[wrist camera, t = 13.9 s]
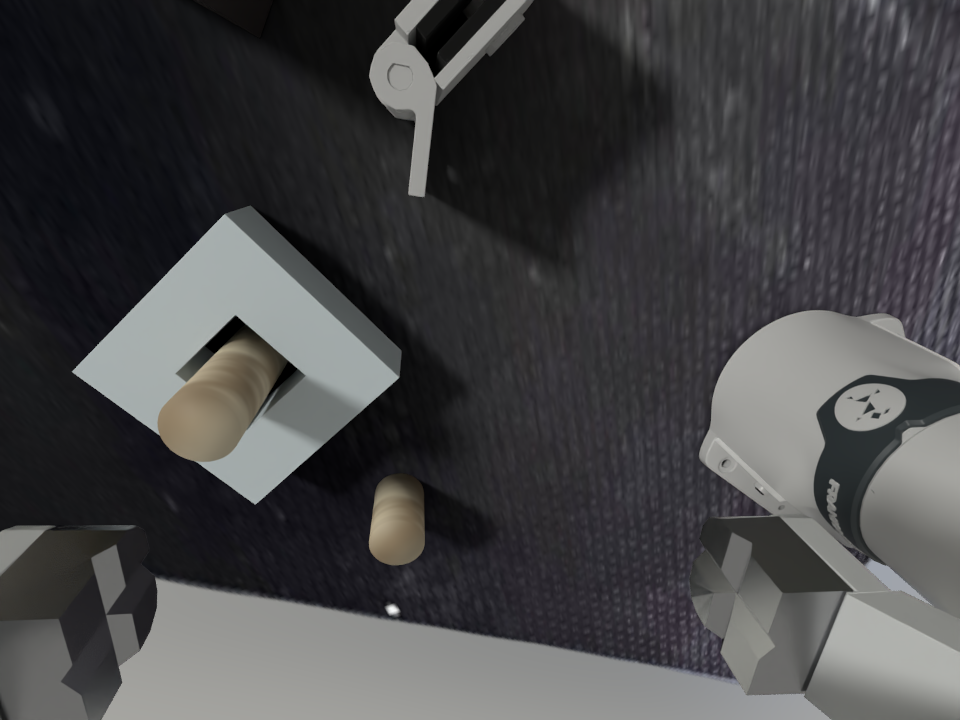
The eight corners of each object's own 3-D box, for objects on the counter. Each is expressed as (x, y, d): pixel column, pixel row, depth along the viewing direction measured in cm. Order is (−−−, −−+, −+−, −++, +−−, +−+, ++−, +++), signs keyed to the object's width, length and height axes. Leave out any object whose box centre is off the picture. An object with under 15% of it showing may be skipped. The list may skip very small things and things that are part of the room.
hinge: (420, 189, 36) (420, 203, 26) (348, 141, 34) (321, 137, 25) (541, -12, 32) (590, -78, 23) (467, -76, 31) (487, -175, 21)
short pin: (433, 493, 44) (436, 542, 39) (399, 521, 45) (396, 573, 40) (400, 464, 43) (397, 511, 38) (365, 494, 44) (357, 544, 38)
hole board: (401, 350, 39) (399, 377, 35) (273, 465, 42) (255, 504, 37) (250, 205, 35) (224, 214, 30) (114, 344, 37) (71, 371, 32)
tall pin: (303, 348, 39) (257, 428, 28) (265, 383, 39) (206, 475, 28) (259, 310, 37) (192, 377, 26) (221, 346, 38) (140, 427, 27)
